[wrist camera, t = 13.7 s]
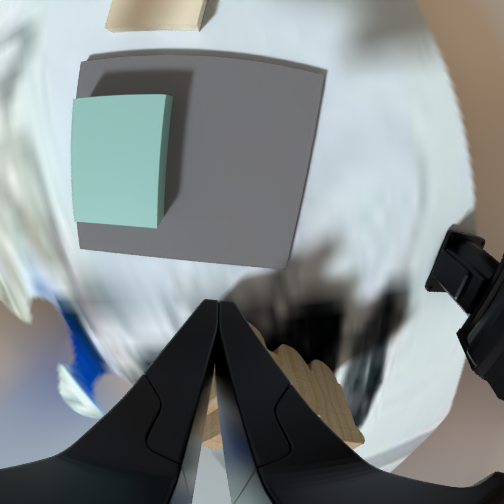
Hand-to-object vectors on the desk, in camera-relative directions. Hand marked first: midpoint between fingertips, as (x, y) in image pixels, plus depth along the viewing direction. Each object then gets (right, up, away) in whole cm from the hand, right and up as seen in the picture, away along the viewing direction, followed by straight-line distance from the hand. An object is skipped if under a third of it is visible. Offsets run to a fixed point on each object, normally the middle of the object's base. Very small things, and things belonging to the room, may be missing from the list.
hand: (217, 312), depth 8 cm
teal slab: (-4, +7, +8) cm, 11 cm away
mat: (-3, +8, +9) cm, 13 cm away
